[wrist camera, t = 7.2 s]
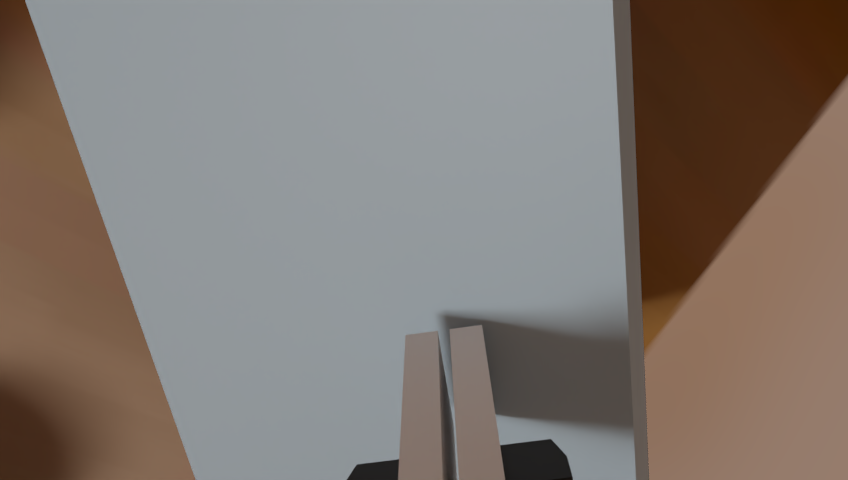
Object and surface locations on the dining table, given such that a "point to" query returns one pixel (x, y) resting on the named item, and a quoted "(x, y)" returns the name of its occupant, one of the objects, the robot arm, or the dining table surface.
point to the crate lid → (366, 215)
